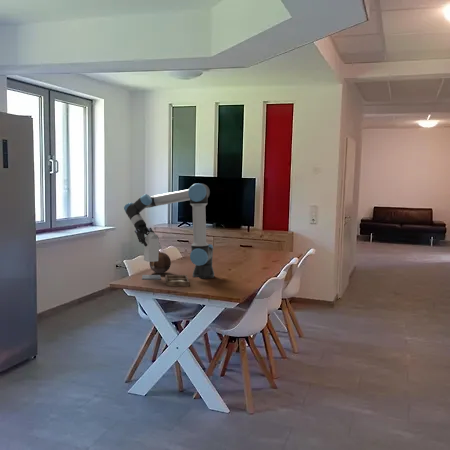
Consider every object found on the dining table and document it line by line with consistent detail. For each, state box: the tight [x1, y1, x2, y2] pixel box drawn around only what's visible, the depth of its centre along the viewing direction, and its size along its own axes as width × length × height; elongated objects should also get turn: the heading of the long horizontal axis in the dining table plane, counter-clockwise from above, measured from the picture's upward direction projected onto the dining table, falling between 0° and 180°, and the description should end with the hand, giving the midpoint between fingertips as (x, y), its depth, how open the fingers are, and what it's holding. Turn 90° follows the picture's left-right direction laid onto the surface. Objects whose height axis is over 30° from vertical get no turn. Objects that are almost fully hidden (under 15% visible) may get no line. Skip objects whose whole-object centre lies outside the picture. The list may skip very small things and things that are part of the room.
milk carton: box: [143, 231, 160, 263], centre depth 313 cm, size 7×7×19 cm
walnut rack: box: [164, 274, 190, 287], centre depth 302 cm, size 14×21×4 cm, turn 9°
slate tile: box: [141, 274, 162, 281], centre depth 314 cm, size 12×12×2 cm
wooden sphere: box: [149, 251, 172, 274], centre depth 337 cm, size 15×15×15 cm
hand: (155, 249), depth 311 cm, fingers closed on milk carton, 9 cm apart
